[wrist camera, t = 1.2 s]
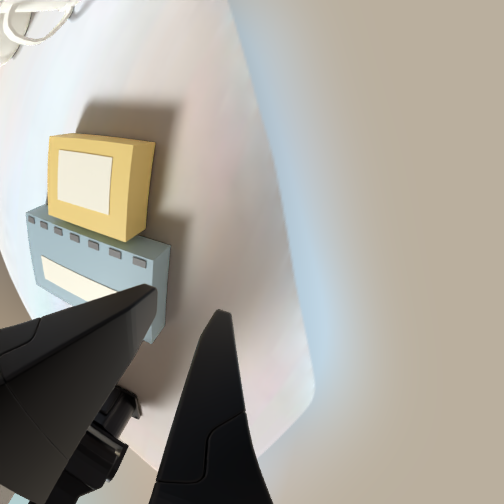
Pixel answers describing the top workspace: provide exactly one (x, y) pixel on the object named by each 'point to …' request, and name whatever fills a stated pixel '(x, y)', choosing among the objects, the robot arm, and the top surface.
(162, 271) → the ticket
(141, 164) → the yellow box
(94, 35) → the top surface
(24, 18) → the mug
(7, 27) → the cup
